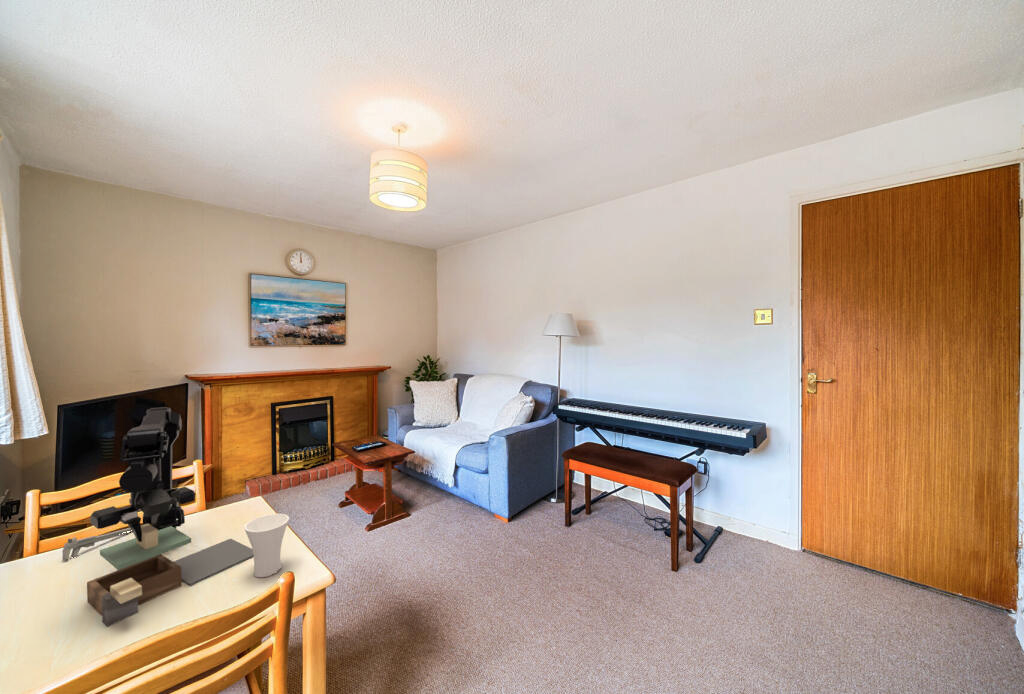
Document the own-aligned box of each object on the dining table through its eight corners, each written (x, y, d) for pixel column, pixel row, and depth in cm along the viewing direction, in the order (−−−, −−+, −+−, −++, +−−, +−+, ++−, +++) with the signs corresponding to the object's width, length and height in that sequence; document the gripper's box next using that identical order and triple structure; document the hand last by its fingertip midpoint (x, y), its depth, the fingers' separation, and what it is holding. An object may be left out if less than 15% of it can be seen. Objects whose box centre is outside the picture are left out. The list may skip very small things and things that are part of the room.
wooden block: (110, 594, 88) (110, 586, 88) (131, 586, 91) (131, 577, 91) (120, 603, 85) (120, 594, 85) (142, 594, 88) (141, 585, 88)
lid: (100, 554, 96) (99, 534, 96) (171, 530, 108) (171, 511, 108) (118, 570, 90) (117, 548, 90) (191, 542, 102) (191, 523, 102)
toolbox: (83, 603, 94) (83, 578, 94) (161, 572, 107) (160, 550, 106) (107, 626, 87) (106, 599, 86) (187, 589, 99) (186, 566, 99)
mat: (162, 568, 108) (162, 565, 108) (230, 540, 123) (230, 538, 123) (189, 586, 101) (189, 584, 101) (259, 554, 116) (259, 552, 116)
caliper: (65, 563, 111) (65, 541, 111) (62, 562, 111) (62, 541, 111) (143, 528, 131) (143, 509, 131) (141, 528, 131) (140, 509, 131)
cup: (240, 571, 107) (239, 522, 107) (282, 555, 115) (282, 510, 115) (250, 587, 100) (250, 535, 100) (295, 570, 108) (294, 521, 108)
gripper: (105, 498, 87) (107, 567, 87) (204, 473, 103) (205, 531, 103) (88, 488, 92) (90, 553, 93) (185, 465, 108) (186, 521, 109)
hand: (147, 539), depth 99 cm, fingers closed on lid, 2 cm apart
